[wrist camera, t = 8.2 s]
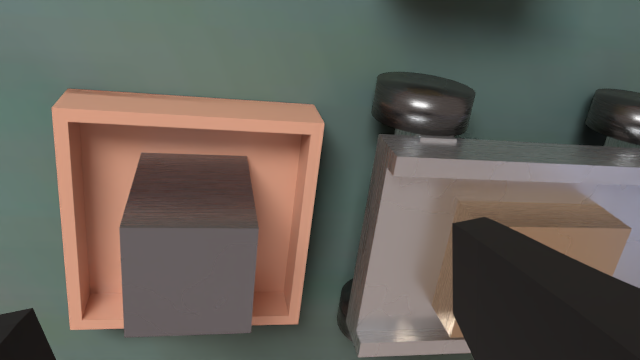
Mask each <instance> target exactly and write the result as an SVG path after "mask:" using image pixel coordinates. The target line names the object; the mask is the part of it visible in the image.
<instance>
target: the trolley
mask: <svg viewBox="0 0 640 360" xmlns="http://www.w3.org/2000/svg"><path fill="white" fill-rule="evenodd" d="M474 98H475V91H474V90H473V89H471V88H470V87H468V86H466V85H464V84H461V83H459V82H456V81H453V80H449V79H446V78H441V77H437V76H432V75H426V74H419V73H410V72H388V73H383V74H380V75H378V77H377V83H376V89H375V95H374V101H373V107H372V115H373V117H374V118H375V119H377V120H378V121H380V122H381V123H383V124H385V125H388V126H390V127H393V128H396V129H395V134H394V135H389V134H379V136H378V142H377V148H376V153H375V159H374V165H373V170H372V176H371V182H370V187H369V193H368V199H367V204H366V210H365V215H364V221H363V227H362V232H361V238H360V244H359V249H358V255H357V261H356V266H355V272H354V278H353V279H352V280H350V281H348V282H347V283H346V284H345V285H344V286H343V288H342V292H341V297H340V303H339V309H338V315H337V322H338V326H339V328H340V330H341V331H342V333H343V334H344V335H345V336H346V337H347V338H348V339H350V340H351V341H352V342H353V344H354V347H355V350H356V353H357V356H358V357H378V356H404V355H429V354H455V353H471V351H470V349H469V347H468V345H467V343H466V341H465V339H464V337H463V334H462V332H461V330H460V328H459V326H458V323H457V321H456V319H455V317H454V315H453V268H452V223H456V222H461V221H466V220H471V219H476V218H481V217H487V218H489V219H492V220H494V221H496V222H498V223H501V224H503V225H505V226H507V227H509V228H511V229H513V230H516V231H518V232H520V233H522V234H524V235H526V236H528V237H530V238H532V239H534V240H536V241H538V242H540V243H542V244H544V245H546V246H548V247H550V248H552V249H554V250H557V251H559V252H561V253H563V254H565V255H567V256H569V257H571V258H573V259H575V260H577V261H580V262H582V263H584V264H586V265H588V266H590V267H592V268H595V269H597V270H599V271H601V272H603V273H606V274H608V275H610V276H612V277H615V278H617V279H619V280H621V281H624V282H626V283H629V284H631V285H633V286H636V287H638V288H640V93H637V92H632V91H625V90H617V89H598V90H596V92H595V95H594V98H593V101H592V104H591V107H590V110H589V113H588V116H587V119H586V122H585V123H586V125H587V126H588V127H589V128H591V129H593V130H594V131H596V132H598V133H601V134H603V135H606V136H607V139H606V142H605V144H604V146H589V145H571V144H553V143H535V142H516V141H498V140H480V139H462V138H455V137H454V136H455V135H460V134H462V133H464V132H466V130H467V127H468V122H469V118H470V114H471V110H472V106H473V102H474Z"/></svg>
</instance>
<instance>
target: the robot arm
mask: <svg viewBox="0 0 640 360" xmlns="http://www.w3.org/2000/svg"><path fill="white" fill-rule="evenodd" d="M452 268H453V315H454V317H455V319H456V321H457V323H458V326H459V328H460V330H461V332H462V334H463V337H464V339H465V341H466V343H467V345H468V347H469V349H470V351H471V353H472V355H473V357H474V359H475V360H640V288H638V287H636V286H633V285H631V284H629V283H626V282H624V281H621V280H619V279H617V278H615V277H612V276H610V275H608V274H606V273H603V272H601V271H599V270H597V269H595V268H592V267H590V266H588V265H586V264H584V263H582V262H580V261H577V260H575V259H573V258H571V257H569V256H567V255H565V254H563V253H561V252H559V251H557V250H554V249H552V248H550V247H548V246H546V245H544V244H542V243H540V242H538V241H536V240H534V239H532V238H530V237H528V236H526V235H524V234H522V233H520V232H518V231H516V230H513V229H511V228H509V227H507V226H505V225H503V224H501V223H498V222H496V221H494V220H492V219H489V218H487V217H481V218H476V219H471V220H466V221H461V222H456V223H452ZM0 360H56V359H55V356H54V354H53V352H52V350H51V348H50V345H49V343H48V341H47V339H46V336H45V334H44V332H43V330H42V328H41V325H40V323H39V321H38V319H37V317H36V314H35V312H34V310H33V308H31V309H26V310H21V311H16V312H11V313H6V314H1V315H0Z"/></svg>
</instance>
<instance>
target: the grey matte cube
mask: <svg viewBox="0 0 640 360" xmlns="http://www.w3.org/2000/svg"><path fill="white" fill-rule="evenodd" d="M119 232H120V254H121V275H122V297H123V318H124V337H149V336H177V335H205V334H233V333H251V325H252V312H253V299H254V285H255V272H256V259H257V245H258V232H259V227H258V221H257V215H256V209H255V202H254V196H253V190H252V184H251V178H250V172H249V166H248V160H247V156H231V155H201V154H171V153H141V155H140V159H139V162H138V166H137V169H136V172H135V176H134V179H133V183H132V186H131V189H130V193H129V196H128V200H127V203H126V207H125V210H124V213H123V217H122V220H121V224H120V227H119Z"/></svg>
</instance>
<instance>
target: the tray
mask: <svg viewBox="0 0 640 360" xmlns="http://www.w3.org/2000/svg"><path fill="white" fill-rule="evenodd" d="M52 118H53V130H54V142H55V154H56V165H57V177H58V189H59V201H60V213H61V225H62V237H63V249H64V261H65V273H66V285H67V297H68V309H69V321H70V330H82V329H123V328H124V318H123V297H122V275H121V254H120V232H119V227H120V224H121V220H122V217H123V213H124V210H125V207H126V203H127V200H128V196H129V193H130V189H131V186H132V183H133V179H134V176H135V172H136V169H137V166H138V162H139V159H140V155H141V153H171V154H201V155H231V156H247V160H248V166H249V172H250V178H251V184H252V190H253V196H254V202H255V209H256V215H257V221H258V227H259V232H258V245H257V259H256V272H255V285H254V299H253V312H252V325H286V324H298V321H299V313H300V306H301V298H302V291H303V283H304V276H305V268H306V261H307V253H308V245H309V238H310V230H311V223H312V215H313V208H314V200H315V193H316V185H317V177H318V170H319V162H320V155H321V147H322V140H323V132H324V124H325V123H324V122H323V120H322V118H321V116H320V115H319V113H318V111H317V109H316V108H315V106H314V105H312V104H297V103H281V102H266V101H251V100H236V99H220V98H205V97H190V96H175V95H159V94H144V93H129V92H113V91H98V90H83V89H67V90H66V91H65V93H64V94H63V95H62V96H61V97H60V98H59V100H58V101H57V102H56V103H55V104H54V105H53V107H52Z"/></svg>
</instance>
